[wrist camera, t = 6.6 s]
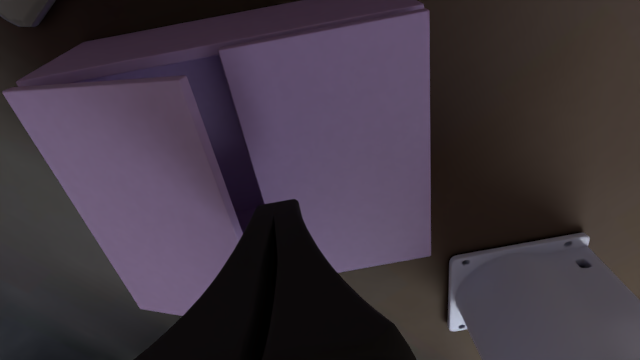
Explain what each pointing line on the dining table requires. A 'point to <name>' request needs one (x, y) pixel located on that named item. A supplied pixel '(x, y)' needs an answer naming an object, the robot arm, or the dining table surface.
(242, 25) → the storage box
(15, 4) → the smartphone
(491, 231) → the dining table surface
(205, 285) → the flap
